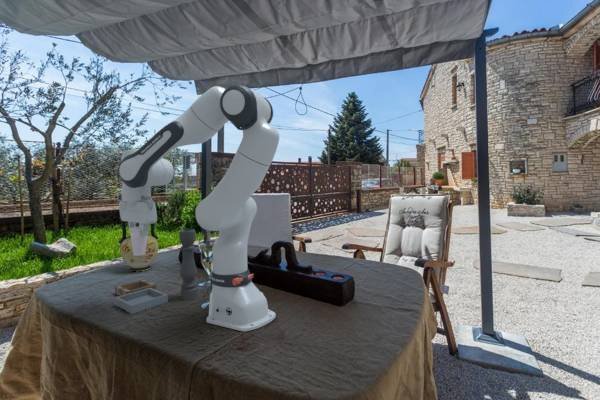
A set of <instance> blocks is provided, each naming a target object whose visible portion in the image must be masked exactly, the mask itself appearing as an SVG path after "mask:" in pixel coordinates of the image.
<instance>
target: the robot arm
mask: <svg viewBox="0 0 600 400" xmlns="http://www.w3.org/2000/svg"><path fill="white" fill-rule="evenodd" d="M273 109H274V108H273V106H272V104H271V102H270V101H269V99H267V98H266V97H265V96H263V95H262V94H261V93H259V92H258V91H257V90H255V89H251V88H249V87H247V86H246V85H242V84H235V85H230V86H229V87H227V88H225V87H223V86H218V85H216V86H212V87H210V88H209V89H208V90H206V91H205V92H204V93H202V94H201V95H200V96H199V97H198V98H197V99H196V100H195V101H193V103H192V104H191V105H190V107H188V108H187V109H186V110H185V111H184V112H183V113H182V114H181V115H179V116H178V117H177V118H176V119H174V120H172V121H171V122H169V123H168V124H166V125H165V126H163V127H162V128H161V129H160V130H158V131H157V132H156V133H155V134H154V135H153V136H152V137H151V138H150V139H149V140H147V142H145V143H144V144H143V145H141V147H140V148H139V147H137V148H128V149H126V150H125V151H123V152H122V154H121V159H120V162H119V166H118V171H117V173H118V177H119V178H120V180H121V181H122V185H121V190H122V191H121V192H120V193H119V194H117V196H116V197H117V198H116V200H117V201H118V202H119V203H118V207H119V209H118V210H119V211H118V212H119V216H120V217H121V220H122V221H125V222H128V228H130V227H136V225H135V224H136V223H141V226H142V231H141V236H148V235H149V230H150V225H151V224H153V223H155V224H156V223H157V222H158V213H157V207H156V206H157V205H156V203H155V202H154V200H153V198H152V193H151V187H159V186H166V185H168V184H171V182H172V180H173V179H174V177H175V167H174V165H173V163H172V162H171V161H170V160H169V159H166V158H164V157H165V156H166V155H168V153H169V152H171V151H172V150H174V149H177V148H179V147H183V146H190V145H199V144H204V143H206V142H207V141H209V140H210V139H212V138H213V137H214V136H215V135H216V134H217V133H219V131H220V130H221V129H222V128H223V127H224V125H226V124H227V123H228V122H230V123H231V124H232V125H233V126H234V128H236V129H237V130H239V131H242V137H241V138H242V139H241V141H240V143H239V146H238V147H237V150H236V152H235V153H234V156H233V159H231V162H230V165H229V167H228V169H227V170H226V173H225V174H224V175H223V177H222V179H220V181H219V182H218V183H217V185H216V186H215V187H214V188H213V190H212V191H211V192H210V193H209V194H208V195H207V196H206V197H204V199H202V200H201V201H200V202H198V204H197V206H196V207H195V208H196V209H195V219H196V221H197V224H198V225H199V226H200V227H201V228H202V229H203V230H206V231H210V232H211V231H213V232H219V233H218V236H217V238H216V241H215V242H214V243H213V246H212V249H211V251H212V252H211V253H212V271H211V275H210V278H211V284H212V288H211V291H210V294H209V307H208V316H207V317H206V323H207V324H212V325H215V326H219V327H224V328H227V329H231V330H236V331H240V332H250V331H252V330H257V329H260V328H262V327H264V326H266V325H268V324H270V323H271V322H272V321H273V320H275V319H276V317H277V316H276V315H277V314H276V312H275V311H273V310H271V309H269V304H268V300H267V298H266V296H265V295H264V294H265V293H264V292H262V291H261V290H259V288H258V287H257V286H256V285H255V284H254V282H253V281H252V280H253V278H254V275H255V274H254V273H250V269H249V268H248V242H249V238H250V237H249V236H250V232H251V228H252V224H253V220H254V219H255V217H256V215H257V212H258V205H257V203H256V201H255V199H254V198H253V197H252V195H253V194H255V192H256V191H257V190H258V189H259V188H260V187H261V185H262V183H263V181H264V179H265V177H266V175H267V173H268V171H269V169H270V166H271V164H272V162H273V160H274V157H275V155H276V152H277V150H278V146H279V141H280V133H279V132H278V130H277V129H276V128H275V127H274V125H272V124H271V122H272V120H273V118H274V110H273ZM120 217H119V218H120ZM148 229H149V230H148Z"/></svg>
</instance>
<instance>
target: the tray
mask: <svg viewBox="0 0 600 400" xmlns="http://www.w3.org/2000/svg"><path fill="white" fill-rule="evenodd" d="M168 296H169V295H168V294H167V293H164V292H162V291H159V290H157V289H156V290H155V289H152V288H147V289H144V290H140V291H136V292H133V293H129V294H126V295H122V296H118V295H117V296H115V297H114V306H115V307H118V308H119V307H120V309H121V308H122V309H121V310H123V309H124V311H125V310H126V311H125V312H127V313H129V314H131V315H134V314H137V313H139V311H140V312H143V311H145V309H146V310H149V309H151V307H152V308H154V306H155V307H158V306H161V305H164V304H168V302H169V297H168ZM157 305H158V306H157ZM148 308H149V309H148ZM142 310H143V311H142ZM136 312H137V313H136ZM133 313H134V314H133Z"/></svg>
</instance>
